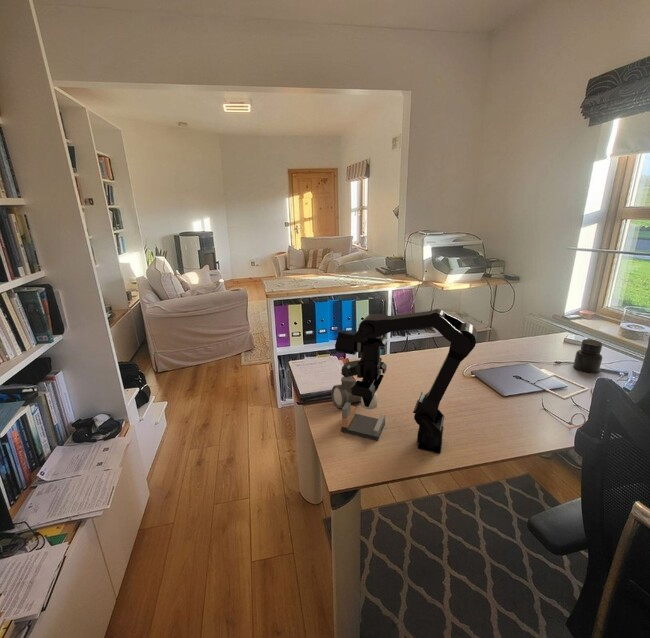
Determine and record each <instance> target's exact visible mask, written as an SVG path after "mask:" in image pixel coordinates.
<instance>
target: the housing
mask: <svg viewBox="0 0 650 638" xmlns="http://www.w3.org/2000/svg"><path fill="white" fill-rule="evenodd" d="M360 406H361V408H362V409H364V410H371V411H372V410H374V409H376V408H377V407H378V390H377V391H376V392H375V394H374V396H373V399H372V401H371V403H370V405H369V407H365V405H364V402H363V399H362V397H361V401H360Z"/></svg>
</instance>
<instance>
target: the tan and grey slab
mask: <svg viewBox="0 0 650 638" xmlns="http://www.w3.org/2000/svg"><path fill="white" fill-rule="evenodd" d="M355 414H356V406H355V405H352V403H348V402H346V403H345V405H344V407H343V408H341V427H345V428H348V426H349V425H350V423H351V421H352V419H353V417H354V416H355Z"/></svg>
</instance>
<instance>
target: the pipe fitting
mask: <svg viewBox="0 0 650 638" xmlns="http://www.w3.org/2000/svg"><path fill="white" fill-rule="evenodd" d="M340 381H341V384H335V385H333V387H332V389H331V401H332V403H333V405H334V406H335V408H337V409H342V408H343V407H344V405H345V403H346V402H348V403H351V404H353V403H357V402H361V397H360V396H355V395H352V394H351V387H352V386H353V384H354V383H355V382H356V378H355V376H350V377H347V378H346V377H344V376H342V377H341V378H340Z"/></svg>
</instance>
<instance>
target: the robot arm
mask: <svg viewBox="0 0 650 638" xmlns="http://www.w3.org/2000/svg"><path fill="white" fill-rule="evenodd" d="M428 328H434V329H435V330H436V331H437V332H439V333H440V334H441V336H442V337H444V339H446V340H447V341H448V342H450V345H449V350H448V353H447V355H446V357H445V358H444V361H443V362H442V365H441V367H440V369H439V371H438V373H437V374H436V376H435V379H434V381H433V382H432V385H431V387H430V389H429V390H428V391H427V392H426V393H424V392H423V391H421V392H420V395H419V399H417V400H416V402H415V406H414V408H413V410H412V414H414V416H413V419H414V421H415V423H416V424H417V425H418V429H417V438H416V439H417V440H416V442H417V443H418V444H417V449H420V450H423V451H428V452H432V453H435V454H441V452H442V448H443V434H444V426H443V425H444V420H445V415H444V413H442V412H441V410H440V409H439V408H440V407H439V406H440V404H441V403H440V402H441V400H442V399H443V397H444V395H445V394H446V391H447V389H448V387H449V385H450V384H451V382H452V379H453V378H454V376H455V374H456V371H457V370H458V368H459V366H460V364H461V363H462V361H463V360H465V359H466V358H467V357H468V356H469V354H470V353H471V352H472V351H473V350H474V348H475V347H476V344H477V337H478V336H477V335H478V331H477V329H476V327H475V326H474V325H473V324H471V323H467V322H464V321H462V320H460V319H459V318H457V317H455V316H452V315H450V314H448V313H447V312H445V311H444V310H442V309H439V308H435V309H432V310H426V311H420V312H411V313H404V314H397V315H387V314H384V313H382V314H381V313H371V314H367V316H366V317H364V319H362V320H361V321H360V323H359V325H358V329H357V331H356V332H353V331H346V330H339V331H338V332H337V337H336V340H335V344H334V350H335V352H336V353H340V354H341V353H342V354H345V355H346V354H347V355H352V356H355V355H356V354H357V353H360V359H359V360H351V361H348V362H345V363H344V364H343V366H341V372H340V374H341V375H342V377H346V378H347V377H355V376H356V378H358V379H361V380H355V383H354V384H353V386H352V387H351V394H352V395H355V396H360V397H362V399H363V402H364V405H365V407H369V405H370V403H371V401H372V399H373V396H374V394H375V392H376V391H377V392H378V389H379V387H380V386H381V385H380V384H381V383H382V381H383V379H384V374H386V372H387V364H386V363H385V362H384V361H382V357H381V347H386V345H387V343H388V342H389V341H388V339H386V338H385V337H384V336H385V335H387V334H389V333H392V332H400V331H409V330H417V329H420V330H421V329H428Z"/></svg>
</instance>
